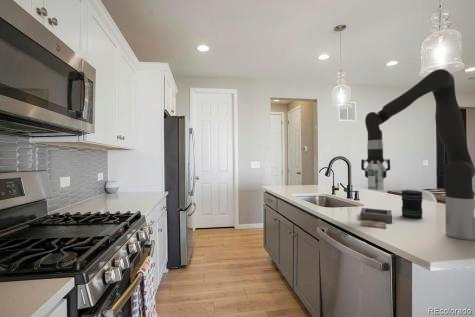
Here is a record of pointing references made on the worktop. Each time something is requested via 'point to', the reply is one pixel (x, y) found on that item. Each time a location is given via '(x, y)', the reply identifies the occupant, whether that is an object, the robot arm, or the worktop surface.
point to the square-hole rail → (376, 215)
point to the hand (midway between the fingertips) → (375, 177)
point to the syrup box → (375, 177)
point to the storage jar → (412, 204)
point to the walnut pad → (373, 224)
